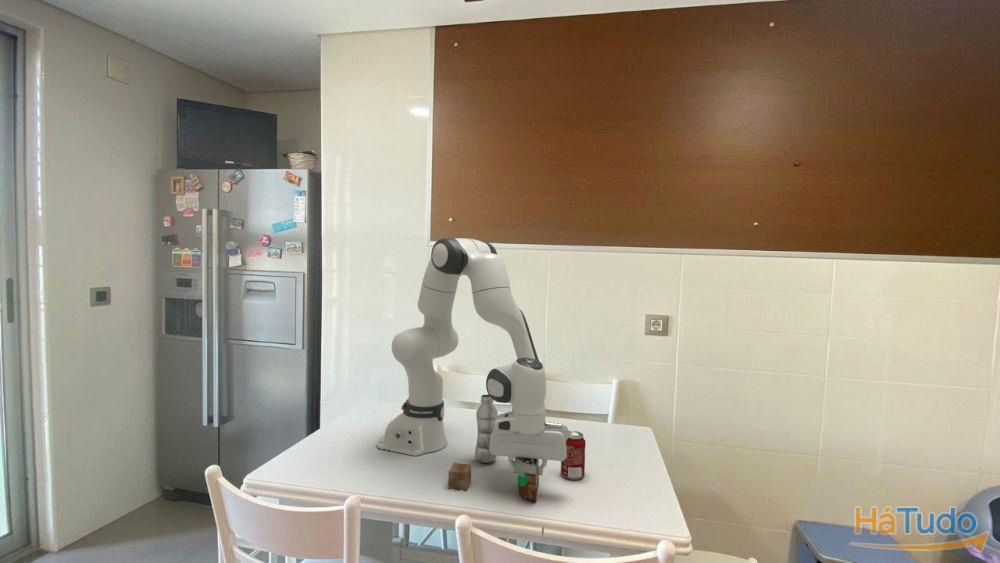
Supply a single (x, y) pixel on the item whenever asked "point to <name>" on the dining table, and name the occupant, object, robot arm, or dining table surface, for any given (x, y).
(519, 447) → the robot arm
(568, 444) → the soda can
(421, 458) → the dining table surface
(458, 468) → the walnut block
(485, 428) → the plastic bottle
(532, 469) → the food container
